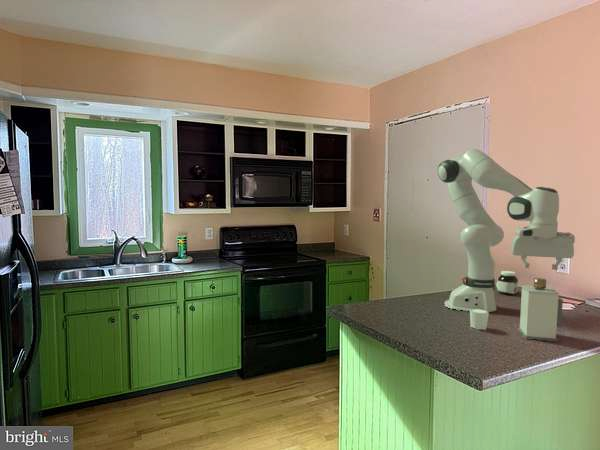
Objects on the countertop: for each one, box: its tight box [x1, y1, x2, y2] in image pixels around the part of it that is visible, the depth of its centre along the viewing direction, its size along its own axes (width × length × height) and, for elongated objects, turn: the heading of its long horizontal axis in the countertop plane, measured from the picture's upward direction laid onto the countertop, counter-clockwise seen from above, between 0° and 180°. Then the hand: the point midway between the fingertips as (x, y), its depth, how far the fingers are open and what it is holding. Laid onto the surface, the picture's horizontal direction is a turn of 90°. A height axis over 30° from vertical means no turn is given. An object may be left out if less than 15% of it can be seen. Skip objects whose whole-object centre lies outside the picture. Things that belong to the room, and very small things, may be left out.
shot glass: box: [469, 309, 490, 330], centre depth 163 cm, size 7×7×7 cm
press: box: [518, 284, 564, 343], centre depth 154 cm, size 13×10×18 cm
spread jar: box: [495, 270, 519, 296], centre depth 221 cm, size 12×11×12 cm
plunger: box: [533, 277, 547, 290], centre depth 154 cm, size 7×7×20 cm
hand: (540, 268), depth 153 cm, fingers open, 8 cm apart
